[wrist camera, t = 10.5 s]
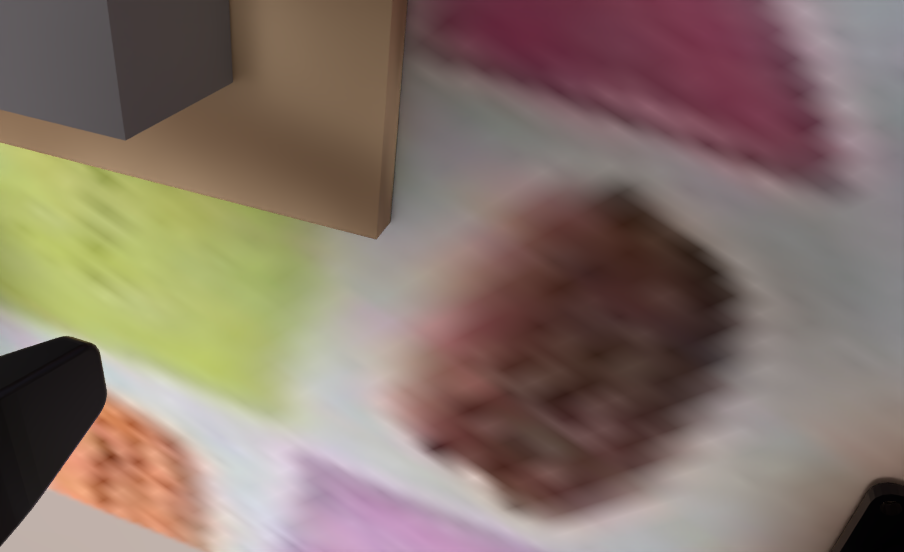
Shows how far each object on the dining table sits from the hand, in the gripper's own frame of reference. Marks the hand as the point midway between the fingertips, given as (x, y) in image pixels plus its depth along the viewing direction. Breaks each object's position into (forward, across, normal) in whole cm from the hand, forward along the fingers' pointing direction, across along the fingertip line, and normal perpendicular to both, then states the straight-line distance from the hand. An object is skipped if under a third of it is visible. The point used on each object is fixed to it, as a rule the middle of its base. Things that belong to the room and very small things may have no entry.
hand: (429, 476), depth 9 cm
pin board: (+10, +10, -5) cm, 16 cm away
